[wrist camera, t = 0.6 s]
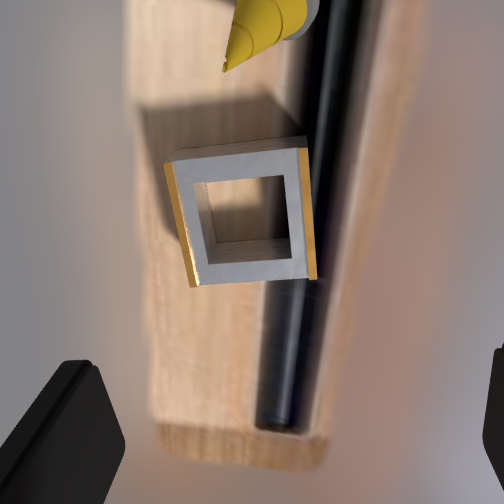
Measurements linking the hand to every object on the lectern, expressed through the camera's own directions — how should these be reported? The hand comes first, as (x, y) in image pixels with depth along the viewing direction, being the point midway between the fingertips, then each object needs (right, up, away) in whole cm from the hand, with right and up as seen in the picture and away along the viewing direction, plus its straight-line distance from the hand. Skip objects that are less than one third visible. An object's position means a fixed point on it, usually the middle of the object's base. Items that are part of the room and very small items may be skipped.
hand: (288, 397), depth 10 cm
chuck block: (-1, +7, +25) cm, 26 cm away
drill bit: (+1, +19, +19) cm, 27 cm away
